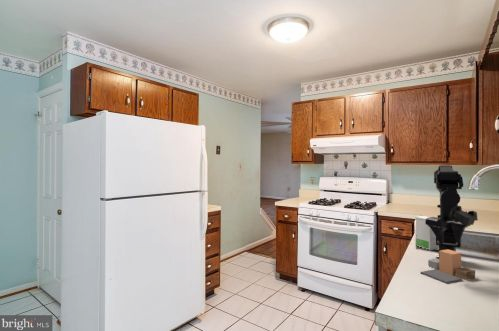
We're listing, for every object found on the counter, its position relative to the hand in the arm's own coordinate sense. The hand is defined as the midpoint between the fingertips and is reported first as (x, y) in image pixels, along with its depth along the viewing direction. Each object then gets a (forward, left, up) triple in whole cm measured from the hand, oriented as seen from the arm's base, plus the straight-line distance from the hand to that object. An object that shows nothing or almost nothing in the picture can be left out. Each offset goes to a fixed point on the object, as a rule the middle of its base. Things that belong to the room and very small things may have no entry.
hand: (449, 242), depth 106 cm
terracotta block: (0, 0, -12) cm, 12 cm away
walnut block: (0, +6, -12) cm, 13 cm away
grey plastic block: (0, -5, -12) cm, 13 cm away
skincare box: (-22, -27, -12) cm, 37 cm away
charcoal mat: (+8, +2, -12) cm, 14 cm away
